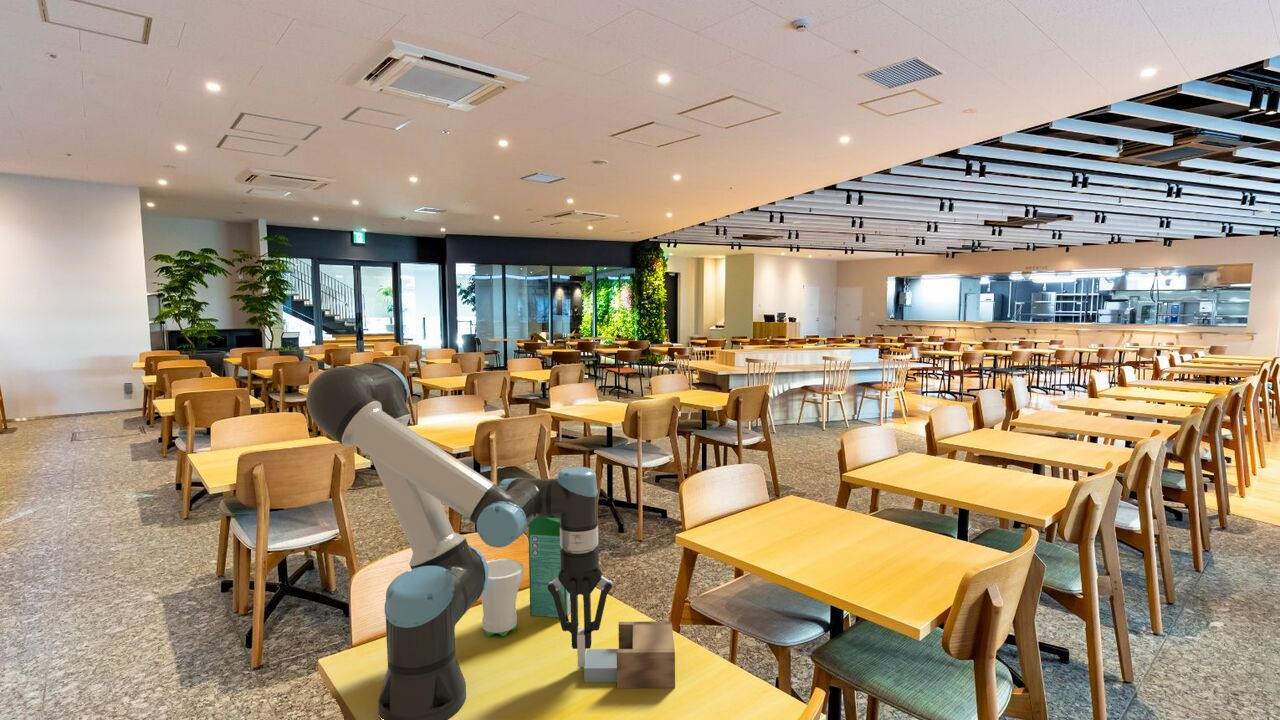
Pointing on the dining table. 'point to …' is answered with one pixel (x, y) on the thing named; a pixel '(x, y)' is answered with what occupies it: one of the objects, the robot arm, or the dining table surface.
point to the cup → (501, 596)
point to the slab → (600, 665)
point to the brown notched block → (646, 655)
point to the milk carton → (545, 566)
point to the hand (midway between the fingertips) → (582, 663)
